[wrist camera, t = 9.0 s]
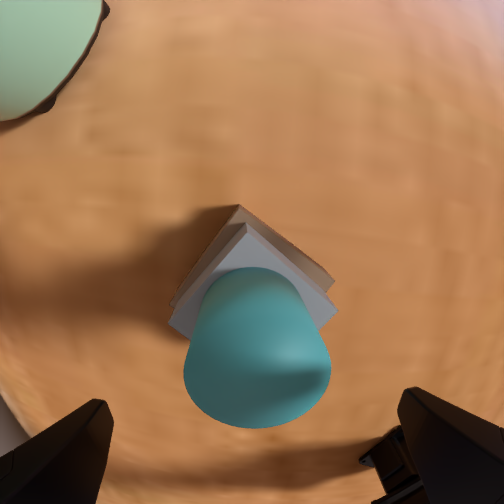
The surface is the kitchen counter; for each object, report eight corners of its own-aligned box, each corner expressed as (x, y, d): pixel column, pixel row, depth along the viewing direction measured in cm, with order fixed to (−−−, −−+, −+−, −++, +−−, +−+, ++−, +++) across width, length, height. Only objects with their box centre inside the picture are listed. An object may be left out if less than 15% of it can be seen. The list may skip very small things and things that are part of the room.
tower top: (322, 289, 17) (338, 310, 14) (255, 357, 18) (258, 386, 15) (245, 222, 16) (247, 232, 13) (178, 300, 17) (167, 323, 14)
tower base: (322, 266, 20) (335, 281, 17) (259, 340, 21) (262, 363, 18) (239, 203, 19) (239, 208, 16) (178, 287, 20) (169, 305, 17)
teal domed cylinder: (324, 307, 14) (359, 364, 9) (258, 374, 15) (265, 443, 10) (244, 244, 13) (246, 282, 9) (180, 323, 14) (157, 385, 9)
